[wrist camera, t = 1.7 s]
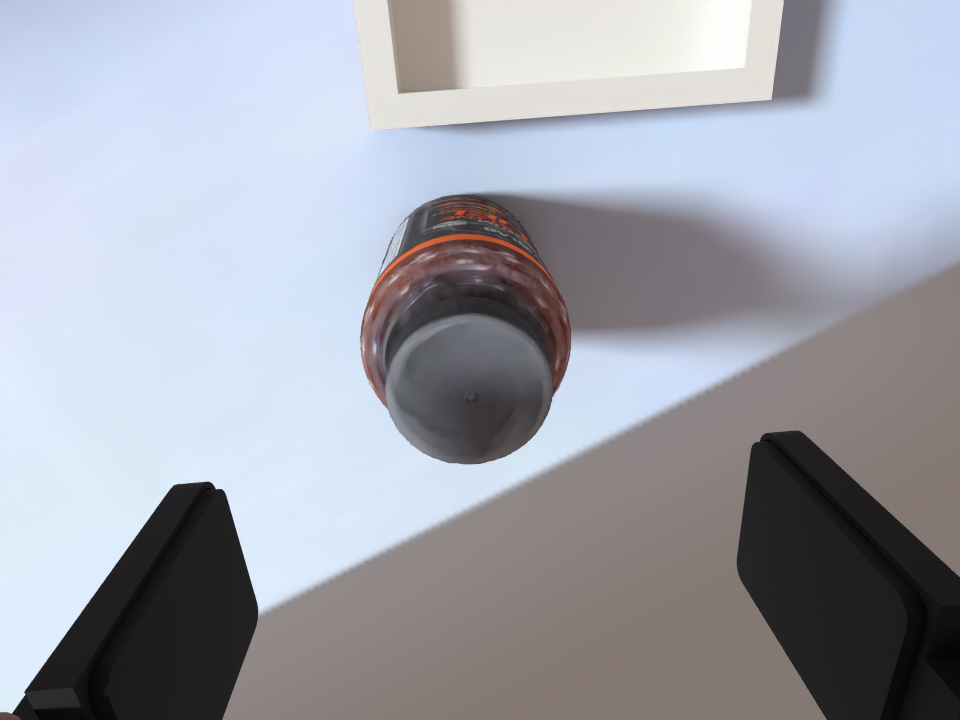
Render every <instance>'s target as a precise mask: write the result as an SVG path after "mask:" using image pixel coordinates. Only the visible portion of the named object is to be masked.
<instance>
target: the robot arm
mask: <svg viewBox="0 0 960 720" xmlns="http://www.w3.org/2000/svg"><path fill="white" fill-rule="evenodd" d="M737 569H738V573H739V576H740V579H741V581H742V583H743V585H744V586H745V588H746V589H747V591H748V592H749V594H750V596H751V598H752V599H753V601H754V602H755V604H756V606H757V607H758V609H759V610H760V612H761V613H762V615H763V617H764V619H765V620H766V622H767V623H768V625H769V627H770V628H771V630H772V632H773V633H774V635H775V636H776V638H777V640H778V641H779V643H780V644H781V646H782V648H783V649H784V651H785V653H786V654H787V656H788V657H789V659H790V661H791V662H792V664H793V665H794V667H795V669H796V670H797V672H798V674H799V675H800V677H801V678H802V680H803V682H804V683H805V685H806V686H807V688H808V690H809V691H810V693H811V695H812V696H813V698H814V699H815V701H816V703H817V704H818V706H819V708H820V709H821V711H822V712H823V714H824V716H825V717H826V719H827V720H960V577H959V576H958V575H957V574H956V573H954V572H953V571H952V570H951V569H950V568H949V567H948V566H947V565H946V564H945V563H944V562H943V561H941V560H940V559H939V558H938V557H937V556H936V555H935V554H934V553H933V552H932V551H930V550H929V549H928V548H927V547H926V546H925V545H924V544H923V543H922V542H921V541H920V540H919V539H918V538H916V537H915V536H914V535H913V534H912V533H911V532H910V531H909V530H908V529H907V528H906V527H904V526H903V525H902V524H901V523H900V522H899V521H898V520H897V519H896V518H895V517H894V516H892V514H890V513H889V512H888V511H887V510H886V509H885V508H884V507H883V506H882V505H881V504H880V503H879V502H877V501H876V500H875V499H874V498H873V497H872V496H871V495H870V494H869V493H868V492H867V491H866V490H864V489H863V488H862V487H861V486H860V485H859V484H858V483H857V482H856V481H855V480H853V479H852V478H851V477H850V476H849V475H848V474H847V473H846V472H845V471H844V470H843V469H842V468H841V467H839V466H838V465H837V464H836V463H835V462H834V461H833V460H832V459H831V458H830V457H829V456H828V455H826V454H825V453H824V452H823V451H822V450H821V449H820V448H819V447H818V446H817V445H816V444H815V443H813V442H812V441H811V440H810V439H809V438H808V437H807V436H806V435H804V434H803V433H802V432H800V431H787V432H786V431H785V432H774V433H766V434H764V435H763V436H762V437H761V440H760V442H756V443H754V444H753V446H752V448H751V454H750V462H749V470H748V477H747V486H746V493H745V501H744V509H743V516H742V524H741V531H740V539H739V547H738V554H737ZM257 620H258V605H257V601H256V598H255V594H254V591H253V587H252V584H251V580H250V577H249V573H248V570H247V566H246V563H245V559H244V556H243V552H242V549H241V545H240V542H239V538H238V535H237V531H236V528H235V524H234V521H233V517H232V514H231V511H230V507H229V504H228V500H227V497H226V494H225V492H224V491H223V490H222V489H215V486H214V485H213V484H212V483H210V482H199V483H187V484H177V485H174V486H173V487H172V488H171V489H170V490H169V492H168V493H167V494H166V496H165V497H164V499H163V500H162V501H161V503H160V504H159V506H158V507H157V508H156V510H155V511H154V513H153V514H152V515H151V517H150V518H149V519H148V521H147V522H146V524H145V525H144V526H143V528H142V529H141V531H140V532H139V533H138V535H137V536H136V538H135V539H134V540H133V542H132V543H131V544H130V546H129V547H128V549H127V550H126V551H125V553H124V554H123V556H122V557H121V558H120V560H119V561H118V563H117V564H116V565H115V567H114V568H113V569H112V571H111V572H110V574H109V575H108V576H107V578H106V579H105V581H104V582H103V583H102V585H101V586H100V588H99V589H98V590H97V592H96V593H95V595H94V596H93V597H92V599H91V600H90V601H89V603H88V604H87V606H86V607H85V608H84V610H83V611H82V613H81V614H80V615H79V617H78V618H77V620H76V621H75V622H74V624H73V625H72V626H71V628H70V629H69V631H68V632H67V633H66V635H65V636H64V638H63V639H62V640H61V642H60V643H59V645H58V646H57V647H56V649H55V650H54V651H53V653H52V654H51V656H50V657H49V658H48V660H47V661H46V663H45V664H44V665H43V667H42V668H41V670H40V671H39V672H38V674H37V675H36V676H35V678H34V679H33V681H32V682H31V683H30V685H29V686H28V688H27V689H26V690H25V692H24V693H25V694H26V695H25V696H24V697H23V699H22V700H21V702H20V703H19V704H18V706H17V707H16V709H15V710H14V711H13V713H12V714H10V713H8V712H0V720H222V719H223V716H224V713H225V710H226V707H227V705H228V702H229V699H230V697H231V694H232V691H233V689H234V686H235V683H236V680H237V677H238V675H239V672H240V669H241V667H242V664H243V661H244V658H245V656H246V653H247V650H248V647H249V645H250V642H251V639H252V637H253V634H254V631H255V628H256V625H257Z"/></svg>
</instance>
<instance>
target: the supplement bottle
mask: <svg viewBox="0 0 960 720" xmlns="http://www.w3.org/2000/svg"><path fill="white" fill-rule="evenodd" d="M360 342H361V356H362V361H363V366H364V369H365V373H366V376H367V378H368V381H369V384H370V385H371V387H372V389H373V390H374V392H375V394H376V395H377V397H378V398H379V399H380V400H381V402H382V404H383V405H384V406H385V407H386V408H387V409H388V410H389V413H390V417H391V418H392V420H393V422H394V424H395V426H396V427H397V429H398V431H399V432H400V433H401V434H402V435H403V436H404V437H405V438H406V439H407V440H408V441H409V442H410V444H411V445H413V446H414V447H416V448H417V449H418V450H420V451H421V452H422V453H424V454H427V455H429V456H430V457H432V458H436V459H439V460H441V461H444V462H448V463H459V464H481V463H485V462H488V461H494V460H496V459H499V458H503V457H505V456H507V455H509V454H511V453H512V452H514V451H516V450H518V449H519V448H520V447H522V446H523V445H525V444H526V443H527V442H528V441H529V440H530V439H531V438H532V437H533V436H534V435H535V434H536V433H537V431H538V430H539V428H540V427H541V426H542V424H543V422H544V420H545V419H546V417H547V414H548V412H549V410H550V405H551V402H552V397H553V396H554V394H555V392H556V391H557V389H558V388H559V386H560V383H561V381H562V379H563V377H564V375H565V372H566V369H567V365H568V361H569V357H570V350H571V330H570V324H569V317H568V313H567V310H566V306H565V303H564V301H563V298H562V296H561V294H560V292H559V290H558V288H557V286H556V284H555V282H554V281H553V279H552V277H551V275H550V274H549V272H548V270H547V268H546V266H545V265H544V263H543V261H542V260H541V258H540V256H539V254H538V252H537V250H536V249H535V247H534V245H533V243H532V241H531V239H530V237H529V235H528V234H527V233H526V231H525V230H524V228H523V227H522V225H521V224H520V223H519V221H517V220H516V219H515V218H514V217H513V216H512V215H511V214H510V213H509V212H508V211H506V210H505V209H504V208H502V207H500V206H499V205H497V204H496V203H494V202H491V201H489V200H487V199H484V198H481V197H476V196H469V195H451V196H445V197H441V198H438V199H435V200H432V201H429V202H427V203H425V204H423V205H422V206H420V207H419V208H417V209H416V210H414V211H413V212H412V213H411V214H410V215H409V216H408V217H407V218H406V219H405V220H404V221H403V222H402V224H401V225H400V226H399V228H398V230H397V231H396V232H395V234H394V236H393V238H392V240H391V242H390V244H389V247H388V250H387V252H386V255H385V258H384V260H383V263H382V266H381V268H380V271H379V273H378V276H377V279H376V281H375V284H374V287H373V289H372V291H371V294H370V297H369V301H368V303H367V306H366V309H365V312H364V316H363V321H362V326H361V336H360Z"/></svg>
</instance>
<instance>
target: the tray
mask: <svg viewBox="0 0 960 720" xmlns="http://www.w3.org/2000/svg"><path fill="white" fill-rule="evenodd" d="M783 4H784V0H353V5H354V12H355V19H356V27H357V34H358V42H359V49H360V56H361V64H362V71H363V79H364V86H365V93H366V101H367V108H368V116H369V123H370V130H382V129H396V128H409V127H422V126H435V125H448V124H461V123H474V122H487V121H500V120H514V119H527V118H540V117H553V116H566V115H579V114H592V113H605V112H618V111H632V110H645V109H658V108H671V107H684V106H697V105H710V104H723V103H736V102H750V101H763V100H772V92H773V84H774V76H775V68H776V60H777V52H778V44H779V36H780V28H781V20H782V12H783Z"/></svg>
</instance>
